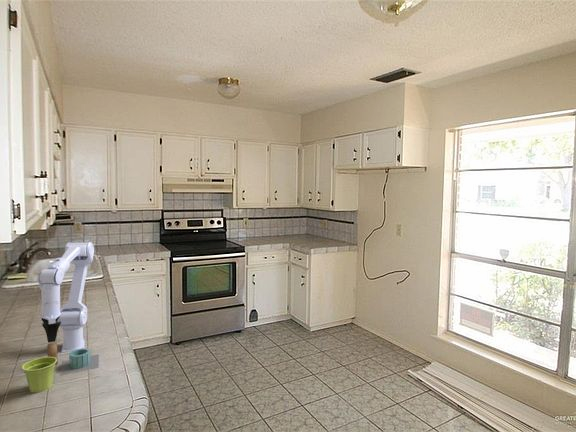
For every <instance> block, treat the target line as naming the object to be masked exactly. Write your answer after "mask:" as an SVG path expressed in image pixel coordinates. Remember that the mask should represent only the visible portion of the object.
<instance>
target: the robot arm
mask: <svg viewBox="0 0 576 432" xmlns="http://www.w3.org/2000/svg"><path fill="white" fill-rule="evenodd" d="M94 256H95V246H94V244H93V242H91V241H89V242H72V241H71V242H67V243H66V245H65V246H64V253H63V254H62V256H61V257H57V258H56V259H54V261H53V262H52V263H51V264H50V265H49V266H48V267H47V268H46V269H42V270H41V271H39V273H38V274H37V283H38V286H39V291H41V297H40V298H41V314H37V318H38V319H41V321H42V322H43V323H41V325H42V327H43V329H44V332H45V334H46V339H47V343H48V344H50V343H56V341H57V340H56V339H57V335H58V331H59V328H60V329H61V330H62V346H61V353H65V352H67V353H68V352H72V351H74V350H78V349H82V348H85V342H86V341H85V339H84V327H83V326H84V325H85V324H87V321H88V307H87V306H86V305H85V304H84V303H83V302H82V301H83V300H82V299H83V295H84V289H85V286H86V285H85V284H86V279H87V274H88V268H89V265H90V264H91V263H93V260H94ZM71 264H73V266H74V270H73V274H72V275H73V276H72V280H71V285H70V289H69V290H70V291H69V295H68V300H67V302H65V303H64V304H63V305H62V306H61V284H62V283H63V280H64V277H65V274H66V273H67V272H68V270H69V268H70V267H71Z"/></svg>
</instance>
